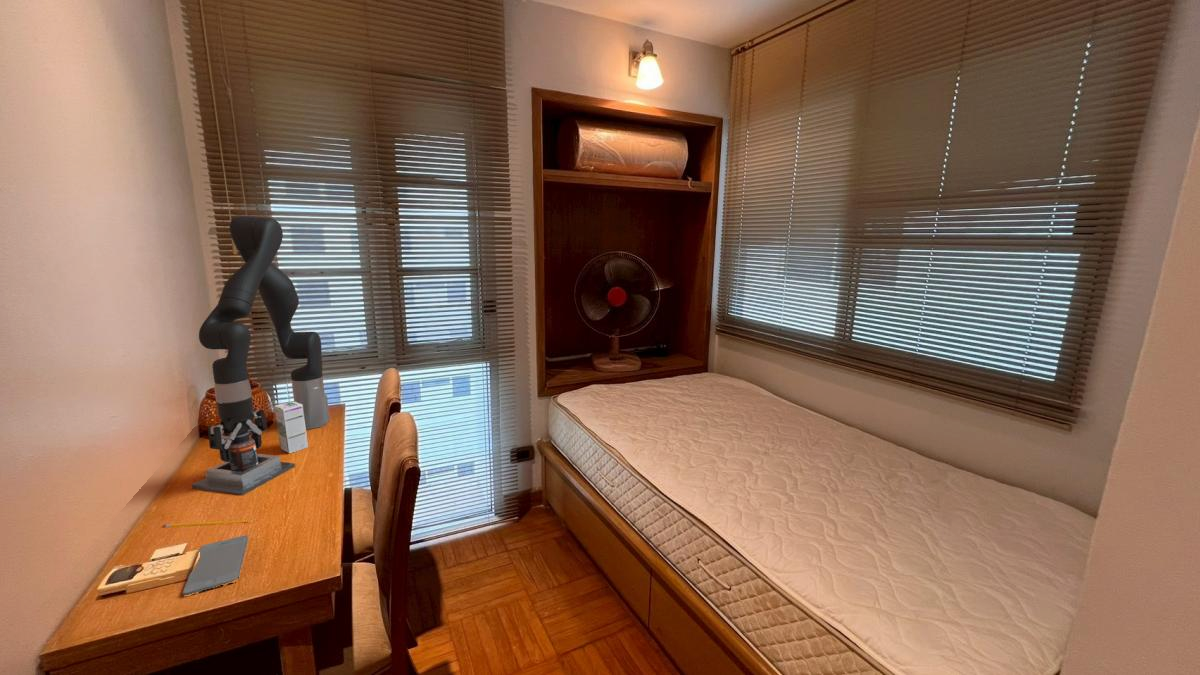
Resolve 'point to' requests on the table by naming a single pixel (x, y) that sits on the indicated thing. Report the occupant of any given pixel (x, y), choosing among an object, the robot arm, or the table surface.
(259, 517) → the table surface
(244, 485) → the socket
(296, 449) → the syrup box
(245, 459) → the supplement bottle
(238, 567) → the phone
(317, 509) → the table surface
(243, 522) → the pencil
